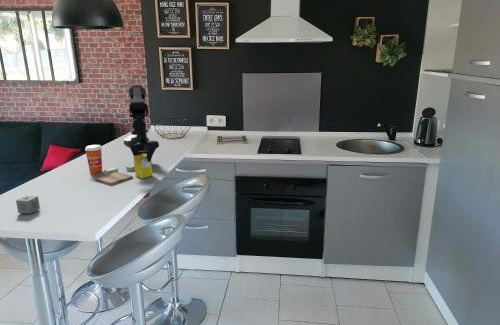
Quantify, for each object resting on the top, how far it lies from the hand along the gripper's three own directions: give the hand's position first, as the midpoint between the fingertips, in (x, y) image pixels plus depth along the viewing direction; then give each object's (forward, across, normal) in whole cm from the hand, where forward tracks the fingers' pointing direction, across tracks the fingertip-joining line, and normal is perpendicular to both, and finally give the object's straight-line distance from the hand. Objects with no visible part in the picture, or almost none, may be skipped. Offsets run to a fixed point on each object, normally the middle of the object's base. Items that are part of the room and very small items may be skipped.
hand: (142, 160), depth 173 cm
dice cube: (+9, -3, -52) cm, 52 cm away
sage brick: (+9, -17, -6) cm, 20 cm away
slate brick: (+9, -13, +4) cm, 16 cm away
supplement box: (+9, 0, 0) cm, 9 cm away
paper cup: (+9, -25, -9) cm, 28 cm away
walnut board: (+8, -8, -11) cm, 16 cm away
